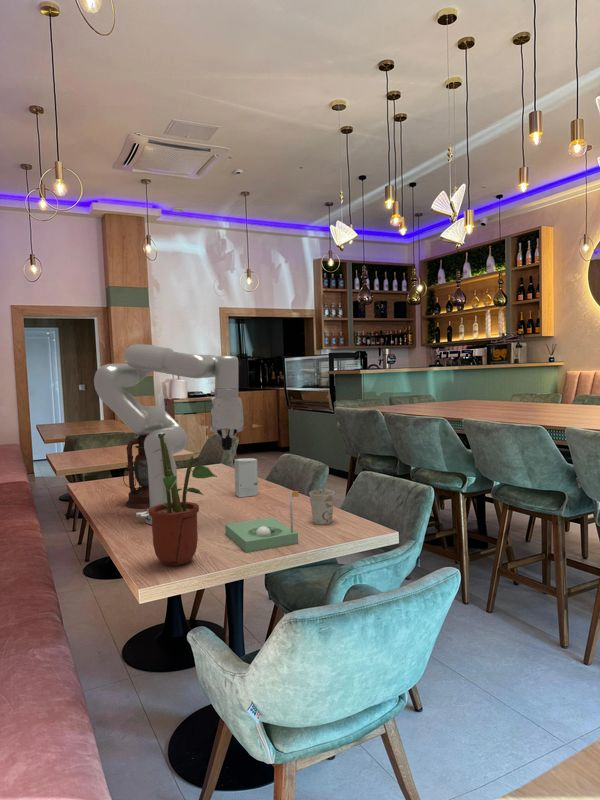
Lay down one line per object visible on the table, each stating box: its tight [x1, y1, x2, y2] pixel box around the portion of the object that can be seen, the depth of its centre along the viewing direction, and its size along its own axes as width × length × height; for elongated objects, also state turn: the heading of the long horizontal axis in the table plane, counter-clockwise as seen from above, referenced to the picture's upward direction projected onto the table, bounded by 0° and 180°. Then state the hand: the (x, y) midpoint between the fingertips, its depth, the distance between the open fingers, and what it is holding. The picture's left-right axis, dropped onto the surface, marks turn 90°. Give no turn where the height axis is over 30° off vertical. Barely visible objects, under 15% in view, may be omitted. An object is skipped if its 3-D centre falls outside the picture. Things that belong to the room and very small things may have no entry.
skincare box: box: [234, 457, 259, 498], centre depth 224 cm, size 8×6×15 cm
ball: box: [256, 526, 271, 535], centre depth 164 cm, size 5×5×5 cm
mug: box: [308, 489, 336, 526], centre depth 184 cm, size 8×13×10 cm, turn 27°
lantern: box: [122, 433, 150, 510], centre depth 215 cm, size 19×19×30 cm
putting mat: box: [224, 490, 300, 553], centre depth 167 cm, size 17×20×15 cm
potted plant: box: [149, 433, 218, 567], centre depth 150 cm, size 17×16×35 cm
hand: (226, 449), depth 181 cm, fingers closed
